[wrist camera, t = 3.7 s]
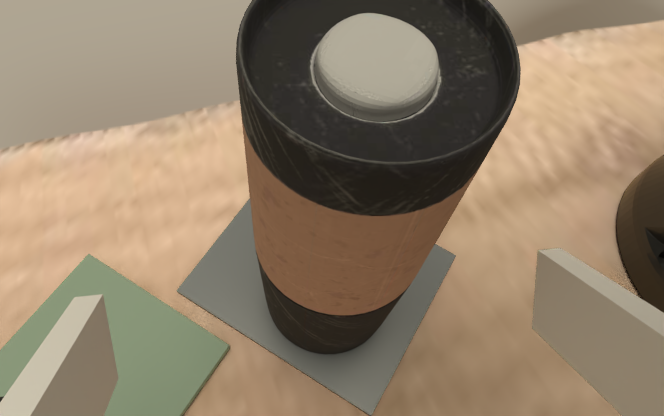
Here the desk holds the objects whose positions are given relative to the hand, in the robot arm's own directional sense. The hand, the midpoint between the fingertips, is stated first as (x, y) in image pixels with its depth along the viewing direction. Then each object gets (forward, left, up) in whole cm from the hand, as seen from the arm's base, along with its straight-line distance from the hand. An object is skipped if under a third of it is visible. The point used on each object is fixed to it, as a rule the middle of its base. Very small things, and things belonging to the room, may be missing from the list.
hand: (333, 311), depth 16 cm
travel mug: (+2, -5, -15) cm, 16 cm away
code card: (+3, -6, -15) cm, 16 cm away
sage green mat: (+10, +5, -15) cm, 19 cm away
